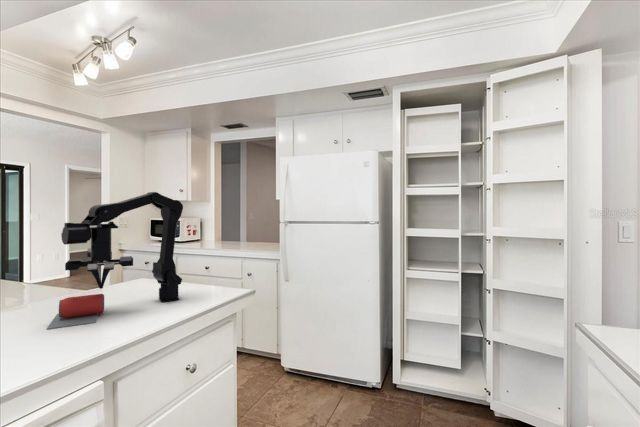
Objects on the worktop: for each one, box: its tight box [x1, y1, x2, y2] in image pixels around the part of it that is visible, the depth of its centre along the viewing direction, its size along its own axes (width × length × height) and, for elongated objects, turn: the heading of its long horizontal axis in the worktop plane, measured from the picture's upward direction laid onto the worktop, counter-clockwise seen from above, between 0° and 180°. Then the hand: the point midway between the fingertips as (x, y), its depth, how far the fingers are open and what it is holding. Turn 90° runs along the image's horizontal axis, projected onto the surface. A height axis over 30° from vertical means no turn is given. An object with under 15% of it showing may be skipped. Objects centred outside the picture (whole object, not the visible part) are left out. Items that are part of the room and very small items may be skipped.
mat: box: [46, 313, 99, 331], centre depth 107 cm, size 12×16×1 cm
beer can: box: [58, 293, 105, 318], centre depth 109 cm, size 7×7×12 cm
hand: (101, 288), depth 110 cm, fingers closed
